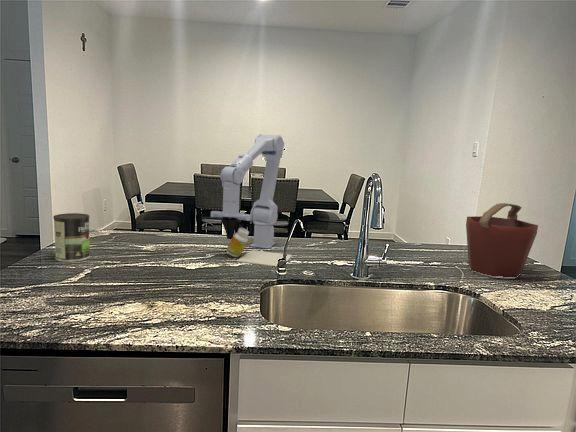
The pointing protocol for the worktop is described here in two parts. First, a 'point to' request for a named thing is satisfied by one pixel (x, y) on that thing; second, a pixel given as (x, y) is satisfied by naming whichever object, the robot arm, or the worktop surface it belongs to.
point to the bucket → (499, 242)
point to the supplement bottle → (238, 242)
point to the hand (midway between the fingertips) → (229, 238)
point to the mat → (262, 258)
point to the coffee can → (71, 237)
